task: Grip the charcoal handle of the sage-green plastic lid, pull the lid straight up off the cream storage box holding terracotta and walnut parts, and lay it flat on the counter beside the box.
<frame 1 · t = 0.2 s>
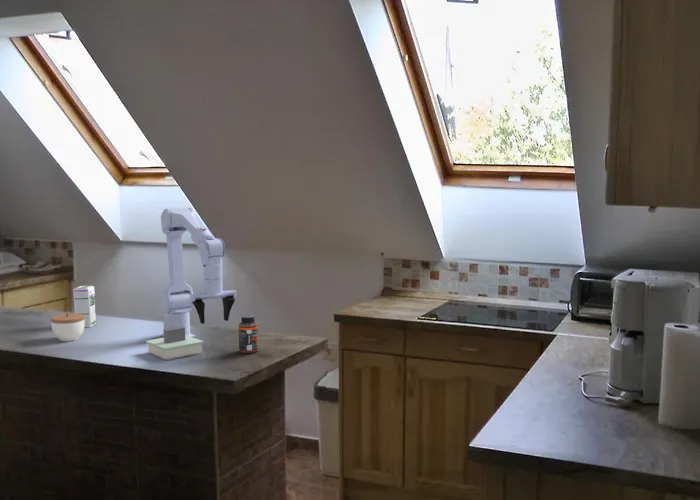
hand: (214, 321, 223), 10 cm above the worktop, fingers open, 7 cm apart
syrup box: (86, 326, 263), on the worktop
storage box: (175, 352, 224), on the worktop
supplement bottle: (248, 352, 226), on the worktop
lid: (174, 343, 224), point 3 cm above the worktop, touching storage box
lidded jar: (69, 339, 243), on the worktop
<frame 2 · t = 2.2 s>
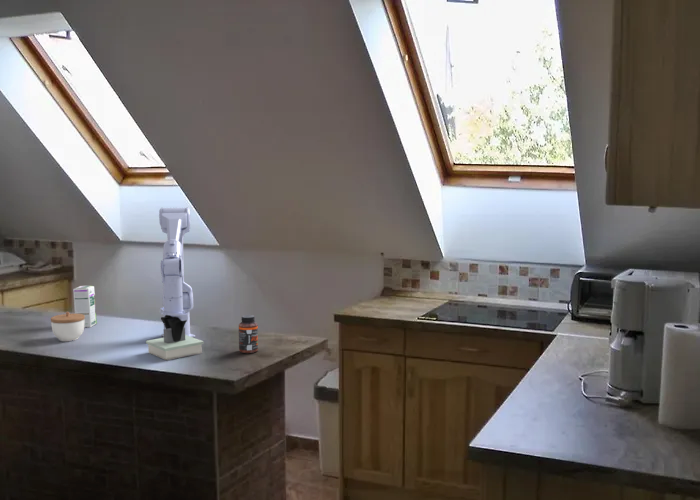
hand: (174, 339, 224), 4 cm above the worktop, fingers closed on lid, 2 cm apart
lid: (174, 343, 224), point 3 cm above the worktop, touching gripper, storage box
everything else where it was.
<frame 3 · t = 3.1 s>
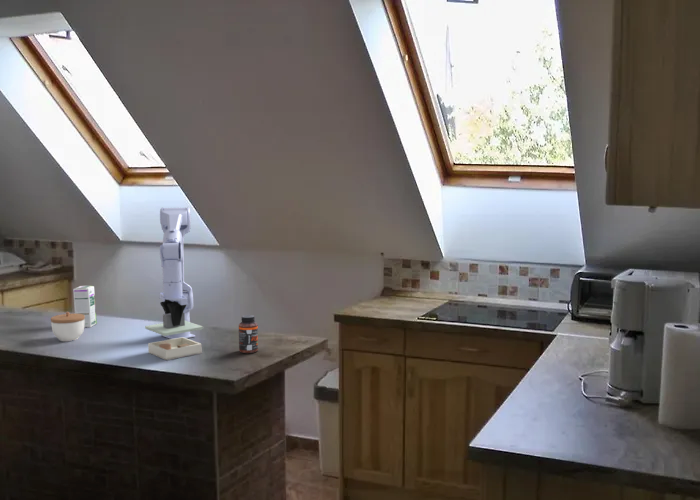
hand: (174, 324, 223), 9 cm above the worktop, fingers closed on lid, 2 cm apart
lid: (174, 328, 223), point 8 cm above the worktop, touching gripper
everything else where it was.
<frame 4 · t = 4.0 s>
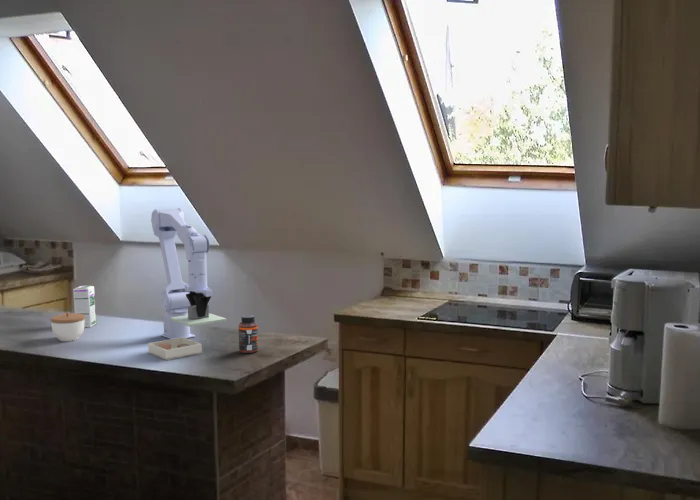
hand: (199, 315, 229), 10 cm above the worktop, fingers closed on lid, 2 cm apart
lid: (198, 320, 229), point 9 cm above the worktop, touching gripper
everything else where it was.
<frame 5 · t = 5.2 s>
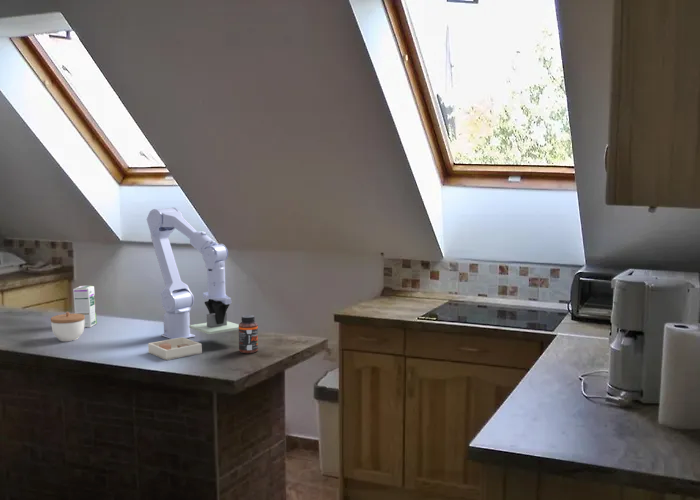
hand: (217, 323, 235), 7 cm above the worktop, fingers closed on lid, 2 cm apart
lid: (216, 328, 235), point 5 cm above the worktop, touching gripper
everything else where it was.
when the fingers open (3 cm above the worktop, at t = 6.2 s): lid drops 2 cm, on the worktop.
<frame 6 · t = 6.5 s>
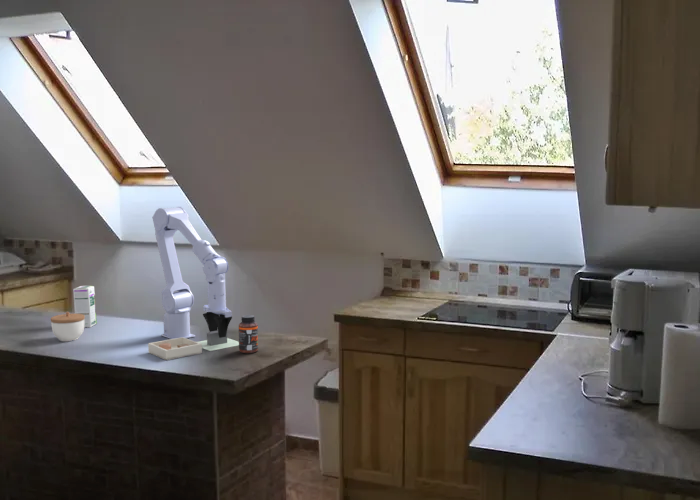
hand: (218, 335, 235), 3 cm above the worktop, fingers open, 5 cm apart
lid: (217, 345, 235), on the worktop
everything else where it was.
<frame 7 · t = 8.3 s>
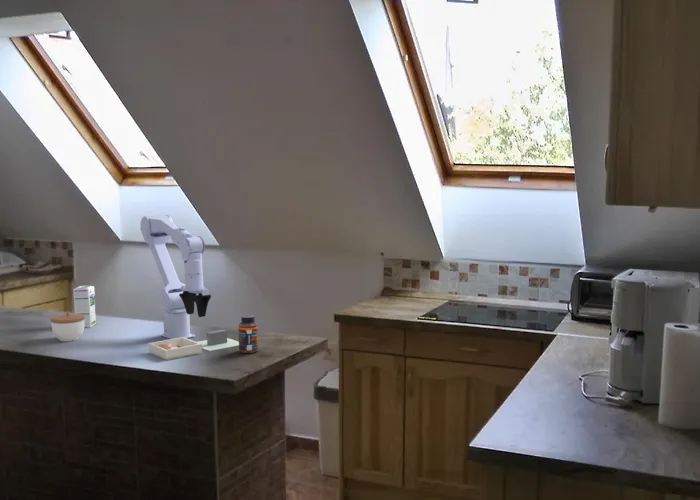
hand: (196, 315, 235), 9 cm above the worktop, fingers open, 7 cm apart
nothing on the worktop moved.
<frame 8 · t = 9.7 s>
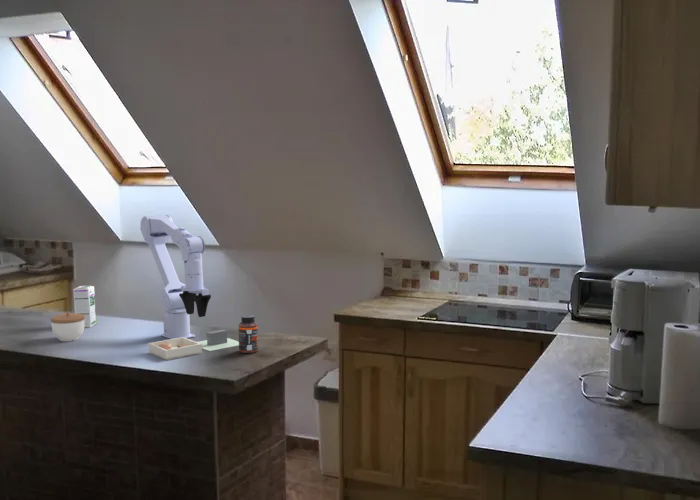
hand: (196, 315, 235), 9 cm above the worktop, fingers open, 7 cm apart
nothing on the worktop moved.
at the end: lid inside the target area (0.3 cm from its centre), on the worktop; lid tilted 0°; the gripper is holding nothing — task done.
